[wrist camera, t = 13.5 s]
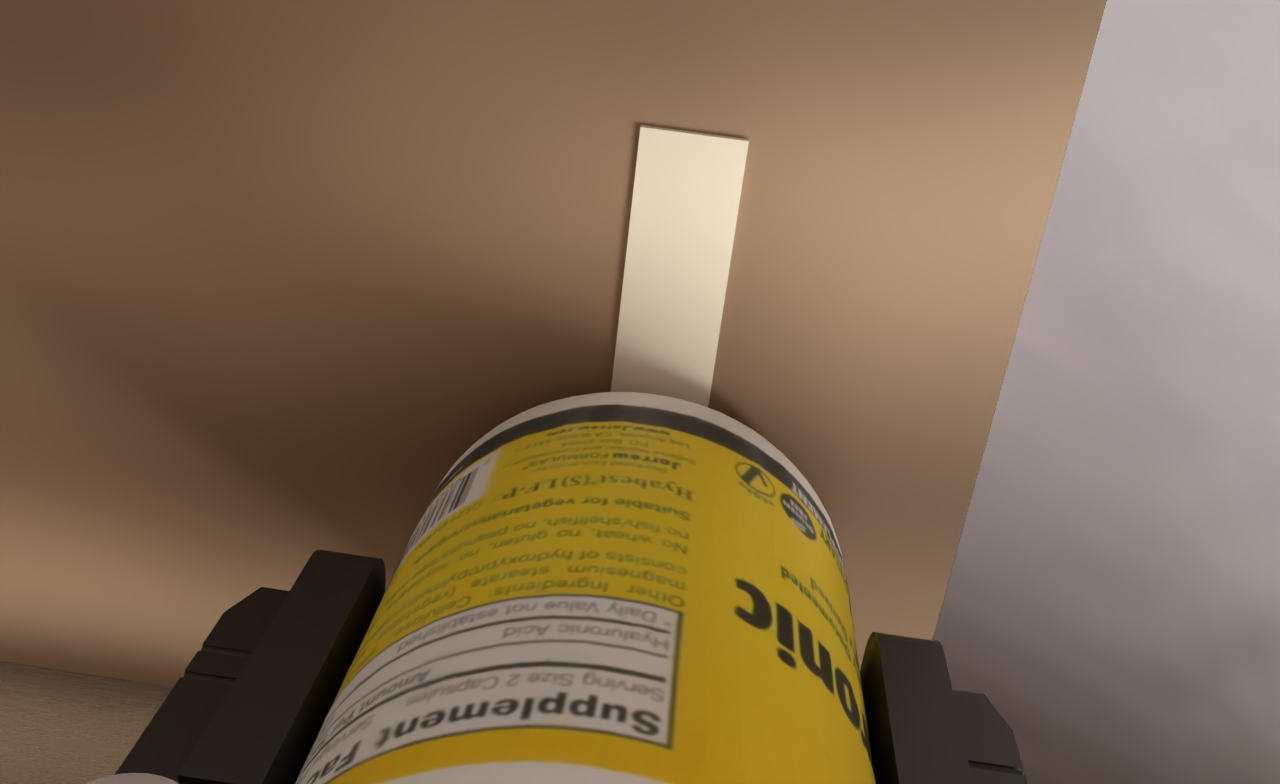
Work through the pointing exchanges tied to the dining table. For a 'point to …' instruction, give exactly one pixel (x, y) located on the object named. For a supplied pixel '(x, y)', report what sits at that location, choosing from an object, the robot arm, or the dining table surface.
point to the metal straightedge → (69, 723)
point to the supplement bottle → (609, 615)
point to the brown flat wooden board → (491, 272)
